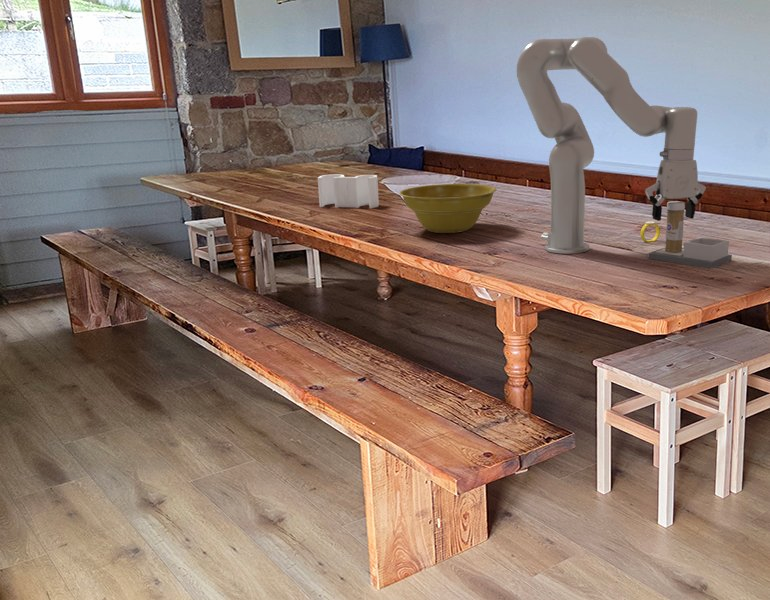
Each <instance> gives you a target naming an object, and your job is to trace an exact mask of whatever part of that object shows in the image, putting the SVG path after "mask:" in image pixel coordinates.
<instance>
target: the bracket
mask: <svg viewBox="0 0 770 600" xmlns="http://www.w3.org/2000/svg"><path fill="white" fill-rule="evenodd" d="M317 186H318V188H317V189H318V201H319V208H323V207H325V206H327V205H334V208H336V209H337V208H355V209H358V208H359V209H360V207H361V206H369V209H374V208H378V207H380V205H379V204H380V202H379V200H380V199H379V181H378V175H377V174H361V175H356V176H345V175H344V174H340V173H339V174H337V173H335V174H323V175H319V176H318V177H317Z"/></svg>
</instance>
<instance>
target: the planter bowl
mask: <svg viewBox="0 0 770 600" xmlns="http://www.w3.org/2000/svg"><path fill="white" fill-rule="evenodd" d="M496 192H497V188H495V187H493V186H489V185H485V184H475V183H474V184H473V183H442V184H430V185H429V184H428V185H422V186H421V185H420V186H419V185H418V186H415V187H409V188H404V189H403V190H400V191H399V192H398V194H399V196H402V199H403V201H404V203H405V205H406V207H407V208H409V209H410V210H411V211H413V213H414V214H415V216H416V218H417V220H418V222H419V223H420V224H421V226H422V227H423V228H424V229H426V230H427V231H428V232H432V233H437V234H438V233H439V234H452V233H453V234H455V233H461V232H467V231H469V230H470V229H471V228H472V227H474V226H475V224H476V223H477V222H478V219H479V217H480V216H481V214H482V211H483V209H485V207H487V206H488V205H489V204H490V203H491V200H492V198H493V196H494V193H496Z"/></svg>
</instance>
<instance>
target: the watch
mask: <svg viewBox="0 0 770 600" xmlns="http://www.w3.org/2000/svg"><path fill="white" fill-rule="evenodd" d="M649 226H654V227H655V233H654V234H655V235H654V237H653V238H652V239H646V238H645V231H646V229H647V228H648V227H649ZM660 230H661V229H660V227H659V225H658V224H657V223H656V221H652V220H651V221H645V224H643V226H642V227H641V229H640V232H639V233H640V234H639V235H640V238H641V240H642V241H643V242H645V243H650V242H652V243H653V242H656V241H657V240H658V239H659V237H660V234H661V232H660Z"/></svg>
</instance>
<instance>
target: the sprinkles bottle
mask: <svg viewBox="0 0 770 600" xmlns="http://www.w3.org/2000/svg"><path fill="white" fill-rule="evenodd" d="M685 210H686V203H685V202H684V201H678V200H675V201H668V202H667V203H666V212H667V213H666V214H667V215H666V216H667V217H666V229H665V247H664V248H665V250H666V251H668V252H680V251H682V248H683V238H684V223H685V222H684V218H685V217H684V216H685Z"/></svg>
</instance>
